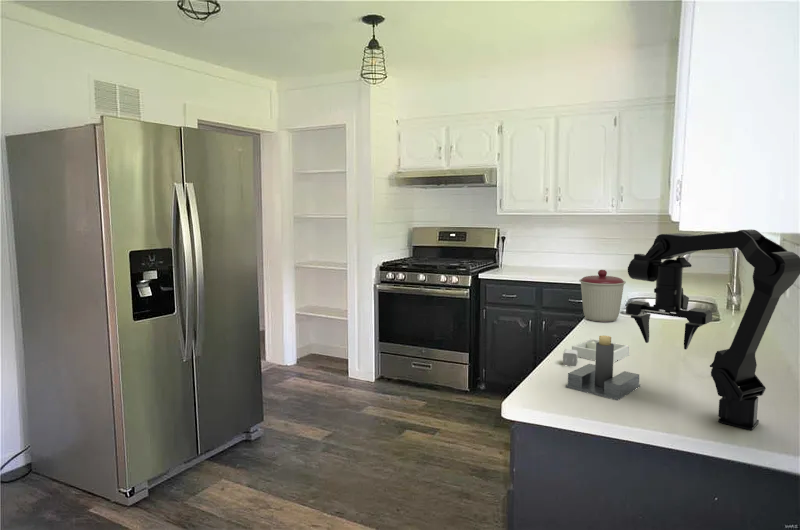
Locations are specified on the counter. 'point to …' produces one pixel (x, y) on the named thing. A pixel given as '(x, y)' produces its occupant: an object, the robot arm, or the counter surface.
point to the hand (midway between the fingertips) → (665, 345)
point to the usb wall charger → (570, 357)
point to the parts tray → (584, 352)
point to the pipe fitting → (591, 345)
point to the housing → (612, 387)
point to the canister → (601, 296)
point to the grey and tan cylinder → (604, 360)
